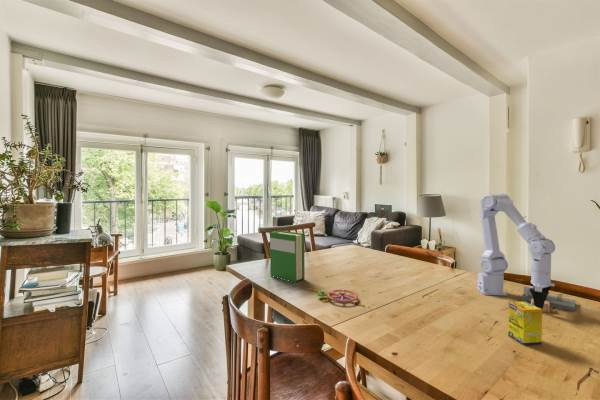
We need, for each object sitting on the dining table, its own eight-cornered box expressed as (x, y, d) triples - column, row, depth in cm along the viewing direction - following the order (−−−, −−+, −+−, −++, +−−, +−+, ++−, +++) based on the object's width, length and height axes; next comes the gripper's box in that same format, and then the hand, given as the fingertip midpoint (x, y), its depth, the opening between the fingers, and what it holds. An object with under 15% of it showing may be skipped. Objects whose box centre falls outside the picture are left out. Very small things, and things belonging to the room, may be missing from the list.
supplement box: (507, 335, 93) (508, 301, 92) (525, 334, 93) (525, 301, 93) (523, 345, 87) (524, 309, 86) (542, 344, 87) (542, 308, 87)
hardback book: (304, 279, 152) (304, 233, 151) (295, 283, 146) (294, 235, 145) (280, 273, 163) (279, 230, 162) (270, 276, 157) (269, 232, 156)
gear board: (521, 300, 122) (522, 287, 121) (525, 293, 129) (525, 282, 128) (574, 311, 110) (574, 297, 110) (575, 303, 117) (575, 290, 117)
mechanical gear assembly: (354, 313, 111) (374, 303, 122) (354, 302, 111) (374, 293, 122) (297, 294, 131) (318, 287, 142) (297, 285, 131) (318, 278, 142)
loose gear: (536, 311, 110) (536, 303, 110) (527, 305, 116) (527, 298, 116) (553, 312, 110) (553, 304, 109) (543, 306, 115) (543, 299, 115)
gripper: (553, 276, 104) (552, 314, 105) (556, 268, 114) (555, 302, 115) (528, 272, 109) (527, 308, 110) (533, 265, 119) (532, 298, 120)
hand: (540, 305), depth 113 cm, fingers open, 7 cm apart
